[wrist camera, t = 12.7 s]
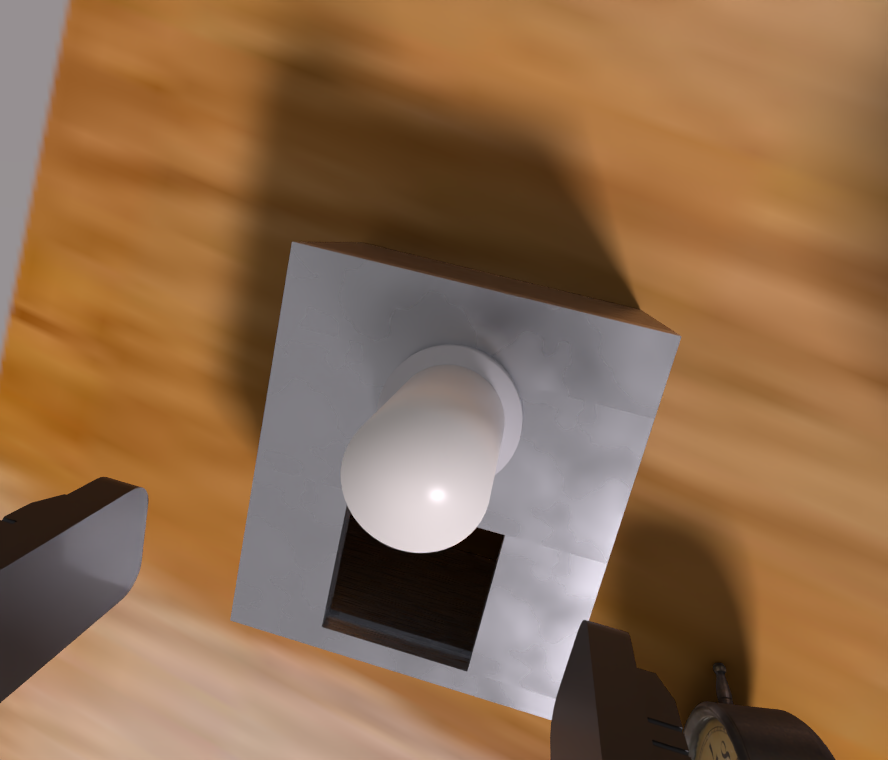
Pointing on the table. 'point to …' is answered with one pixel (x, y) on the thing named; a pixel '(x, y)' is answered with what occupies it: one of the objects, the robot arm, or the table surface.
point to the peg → (432, 449)
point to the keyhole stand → (514, 487)
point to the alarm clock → (748, 731)
